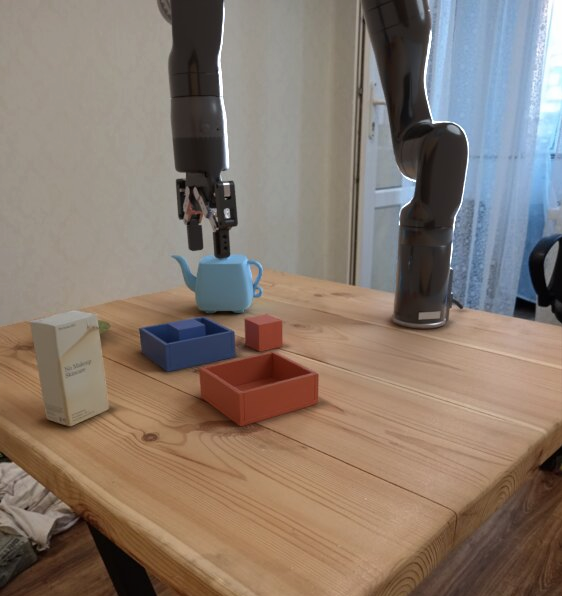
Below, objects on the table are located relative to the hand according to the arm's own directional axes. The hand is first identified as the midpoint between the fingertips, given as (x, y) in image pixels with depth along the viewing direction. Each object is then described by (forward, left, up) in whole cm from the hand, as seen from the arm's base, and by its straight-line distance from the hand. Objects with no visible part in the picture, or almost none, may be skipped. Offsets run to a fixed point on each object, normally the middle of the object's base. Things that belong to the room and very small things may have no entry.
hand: (208, 253), depth 85 cm
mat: (+16, -19, -16) cm, 29 cm away
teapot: (-13, -23, -16) cm, 31 cm away
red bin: (+4, +20, -15) cm, 25 cm away
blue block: (+4, -1, -15) cm, 15 cm away
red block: (-8, +2, -15) cm, 17 cm away
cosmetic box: (+24, +11, -16) cm, 31 cm away
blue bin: (+4, -1, -15) cm, 16 cm away
